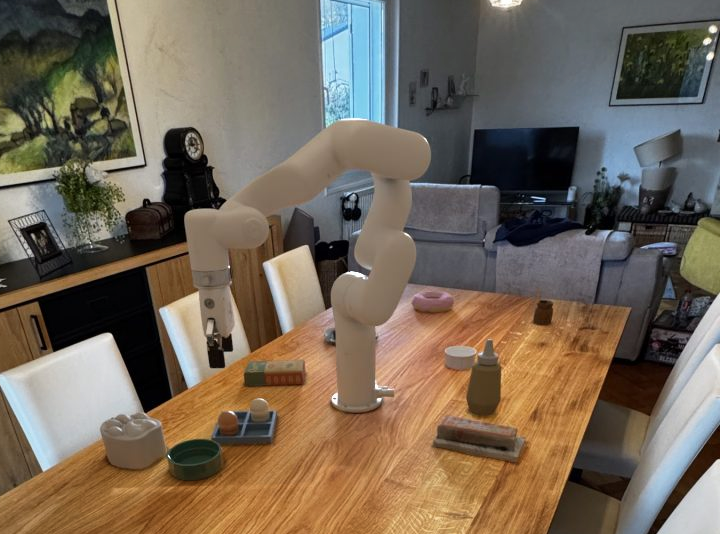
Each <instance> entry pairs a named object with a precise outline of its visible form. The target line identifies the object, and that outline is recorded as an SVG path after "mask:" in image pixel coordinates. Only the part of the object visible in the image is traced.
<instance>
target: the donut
mask: <svg viewBox="0 0 720 534" xmlns="http://www.w3.org/2000/svg"><path fill="white" fill-rule="evenodd" d="M410 304H411V305H412V307H413V308H414V309H415V310H417V311H419V312H422V313H429V314H437V313H445V312H448V311H449V310H450V309H451V308H453V307H454V305H455V301H454V296H453V295H451V294H450V293H448V292H444V291H439V290H433V291H432V290H431V291H429V290H428V291H421V292H418V293H416V294H415V295H413V296H412V299H411V303H410Z"/></svg>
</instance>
